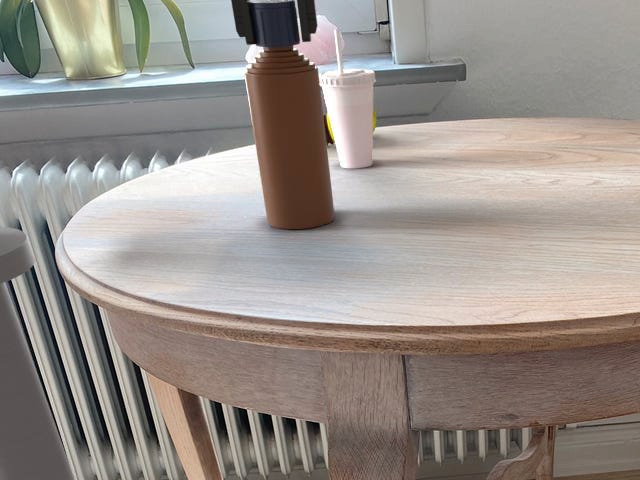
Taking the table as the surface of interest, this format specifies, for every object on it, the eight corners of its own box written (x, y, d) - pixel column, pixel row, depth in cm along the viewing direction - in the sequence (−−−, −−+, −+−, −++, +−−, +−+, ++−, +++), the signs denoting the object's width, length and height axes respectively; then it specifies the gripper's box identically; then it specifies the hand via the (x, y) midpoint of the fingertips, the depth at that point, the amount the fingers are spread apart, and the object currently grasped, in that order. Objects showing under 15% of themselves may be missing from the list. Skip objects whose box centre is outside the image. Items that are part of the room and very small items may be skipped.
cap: (299, 41, 78) (294, -2, 76) (300, 45, 75) (295, 1, 73) (255, 43, 78) (249, 0, 76) (254, 48, 75) (248, 3, 73)
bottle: (265, 231, 82) (231, 15, 72) (270, 212, 87) (238, 8, 77) (334, 227, 83) (309, 12, 73) (335, 209, 88) (312, 6, 78)
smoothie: (321, 163, 105) (303, 29, 97) (371, 156, 107) (358, 24, 99) (340, 174, 100) (323, 33, 92) (392, 165, 102) (380, 28, 94)
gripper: (136, -218, 63) (189, 52, 73) (336, -224, 64) (362, 43, 74) (155, -205, 69) (202, 42, 79) (338, -211, 70) (361, 33, 80)
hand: (279, 41), depth 76 cm, fingers open, 4 cm apart
